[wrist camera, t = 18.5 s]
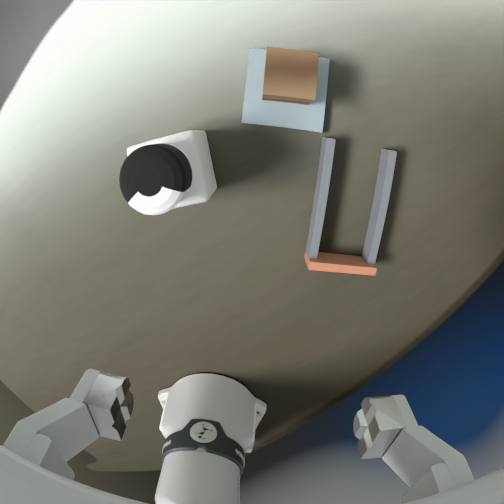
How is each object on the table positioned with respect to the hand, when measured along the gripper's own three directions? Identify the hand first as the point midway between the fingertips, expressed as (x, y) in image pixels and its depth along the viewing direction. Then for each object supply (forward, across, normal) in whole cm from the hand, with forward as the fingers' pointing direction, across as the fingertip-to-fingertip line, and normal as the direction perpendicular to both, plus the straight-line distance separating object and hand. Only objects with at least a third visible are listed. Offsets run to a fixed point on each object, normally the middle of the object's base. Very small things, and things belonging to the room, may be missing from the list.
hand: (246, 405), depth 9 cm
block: (+28, -2, -15) cm, 32 cm away
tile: (+29, -2, -14) cm, 32 cm away
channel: (+29, -11, -2) cm, 31 cm away
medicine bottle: (+29, +9, -4) cm, 31 cm away
